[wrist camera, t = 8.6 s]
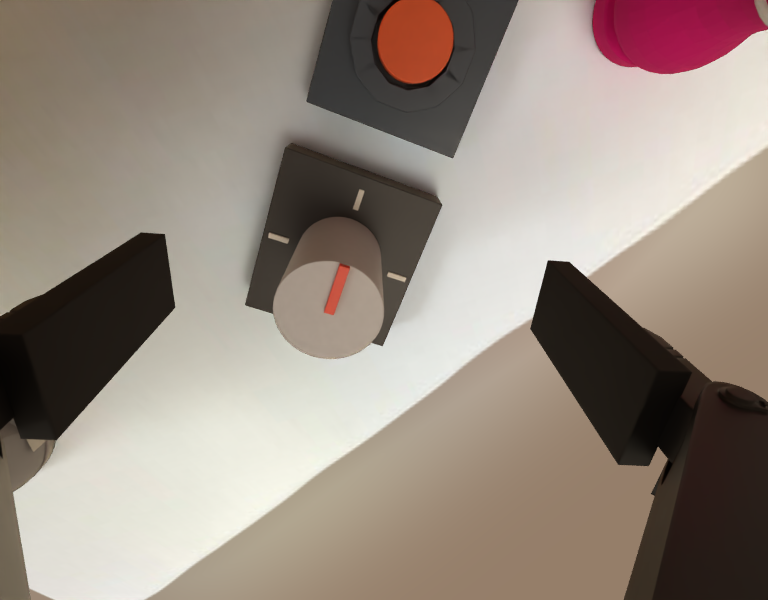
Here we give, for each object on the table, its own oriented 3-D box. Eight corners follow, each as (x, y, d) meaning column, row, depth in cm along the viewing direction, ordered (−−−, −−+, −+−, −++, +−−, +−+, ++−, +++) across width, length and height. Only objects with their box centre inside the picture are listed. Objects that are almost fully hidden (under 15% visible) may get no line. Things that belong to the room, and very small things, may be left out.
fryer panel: (381, 330, 37) (382, 347, 35) (252, 291, 35) (244, 306, 33) (437, 196, 32) (443, 205, 30) (291, 142, 30) (284, 147, 28)
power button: (431, 94, 26) (435, 95, 24) (367, 68, 25) (367, 66, 23) (459, 19, 24) (466, 14, 23) (391, -11, 24) (393, -19, 22)
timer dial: (365, 305, 33) (363, 374, 25) (287, 281, 32) (260, 345, 24) (392, 232, 31) (400, 283, 23) (309, 204, 30) (287, 247, 22)
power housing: (447, 153, 31) (458, 162, 27) (310, 100, 29) (301, 102, 26) (513, -7, 27) (535, -21, 23) (358, -80, 25) (356, -107, 22)
